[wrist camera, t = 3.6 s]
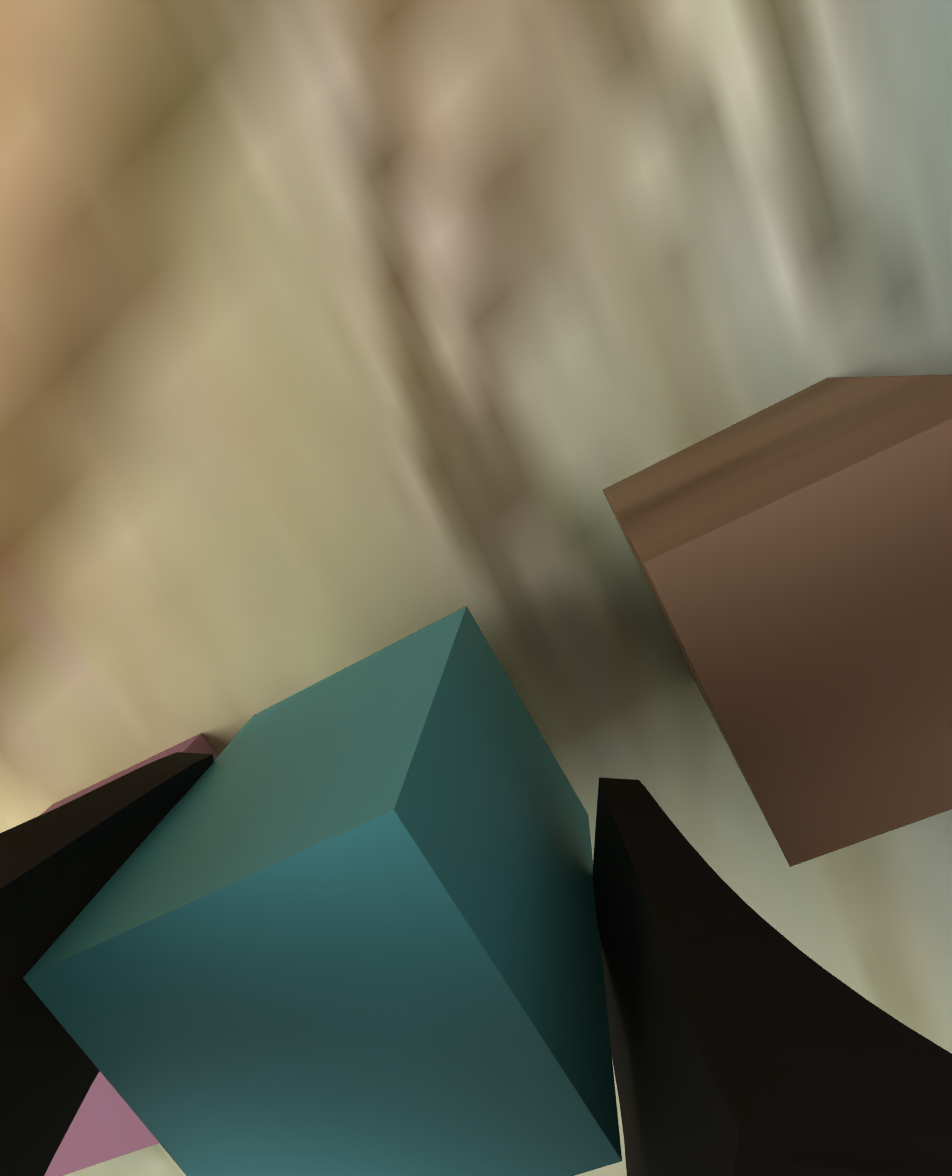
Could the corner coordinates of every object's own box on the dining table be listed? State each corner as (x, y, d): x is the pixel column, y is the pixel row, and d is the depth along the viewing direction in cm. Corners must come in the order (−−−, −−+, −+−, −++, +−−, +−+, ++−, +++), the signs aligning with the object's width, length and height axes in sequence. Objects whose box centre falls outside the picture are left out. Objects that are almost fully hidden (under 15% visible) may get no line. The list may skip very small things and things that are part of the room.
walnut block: (910, 588, 14) (1168, 731, 8) (694, 680, 15) (789, 866, 9) (826, 377, 13) (1050, 372, 7) (602, 489, 14) (643, 562, 8)
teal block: (588, 815, 13) (621, 1160, 7) (380, 902, 14) (263, 1269, 8) (466, 606, 12) (393, 810, 6) (254, 714, 13) (22, 977, 7)
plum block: (302, 884, 17) (182, 1135, 11) (156, 944, 18) (-23, 1204, 12) (202, 732, 16) (16, 920, 11) (53, 803, 17) (-192, 1013, 11)
